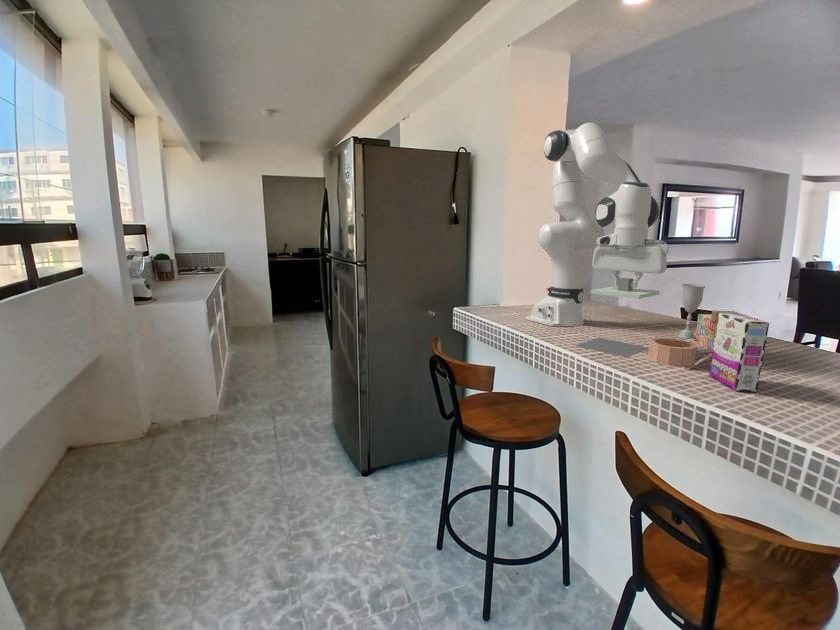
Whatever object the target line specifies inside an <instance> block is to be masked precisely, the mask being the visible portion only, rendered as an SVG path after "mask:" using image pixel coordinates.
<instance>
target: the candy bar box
mask: <svg viewBox="0 0 840 630" xmlns="http://www.w3.org/2000/svg"><path fill="white" fill-rule="evenodd" d="M744 315H745V314H744ZM744 315H740V314H731V313H719V317H718V323H717V329H716V335H715V342H714V348H713V349H712V354H711V361H710V368H709V377H711V378H712V379H714V380H715V381H718V383H721V384H723V385H724V384H725V386H726V387H728V388H729V389H732V390H733V391H734V392H743V391H744V393H745V392H746V393H756V392H758V387H759V382H760V381H759V380H760V376H761V370H762V364H763V359H764V356H765V355H764V353H765V348H766V344H767V339H768V332H769V327H770V322H767V321H764V320H761V319H758V318H753V317H751V316H750V317H747V316H748V315H747V316H744Z"/></svg>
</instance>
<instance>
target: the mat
mask: <svg viewBox="0 0 840 630" xmlns="http://www.w3.org/2000/svg"><path fill="white" fill-rule="evenodd" d="M574 346H575V347H577V348H582V349H587V350H592V351H595V352H600V353H604V354H610V355H613V356H616V357H617V356H618V357H623V358H629V357H632V356H634V355H636V354H638V353H641V352H643V351H645V350H648V349H649V346H648V347H647V346H643V345H639V344H638V345H637V344H633V343H628V342H623V341H619V340H613V339H608V338H603V337H597V338H594V339H590V340H588V341H585V342H581V343H579V344H576V345H574Z"/></svg>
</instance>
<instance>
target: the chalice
mask: <svg viewBox="0 0 840 630" xmlns="http://www.w3.org/2000/svg"><path fill="white" fill-rule="evenodd" d="M681 285H682V296H681V301H682V304H683V306H684V307H683V308H684V310H685V312H687V313H688V315H687V317H686V322H685V324H686V328H685V329H681V331H680V333H679V334H678V337H679V338H681V337H682V339H687V338H689V339H688V340H693V338H696V335H695V332H694V330H692V329H691V325H692V322H691V320H692V319H693V316H692V314H693V313H695V312H697V309H698V308H699V307H700V305H701V303H702V301H703V296H704V290H705V288H706V287H707V286H706V285H704V284H695V283H683V284H681Z"/></svg>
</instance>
